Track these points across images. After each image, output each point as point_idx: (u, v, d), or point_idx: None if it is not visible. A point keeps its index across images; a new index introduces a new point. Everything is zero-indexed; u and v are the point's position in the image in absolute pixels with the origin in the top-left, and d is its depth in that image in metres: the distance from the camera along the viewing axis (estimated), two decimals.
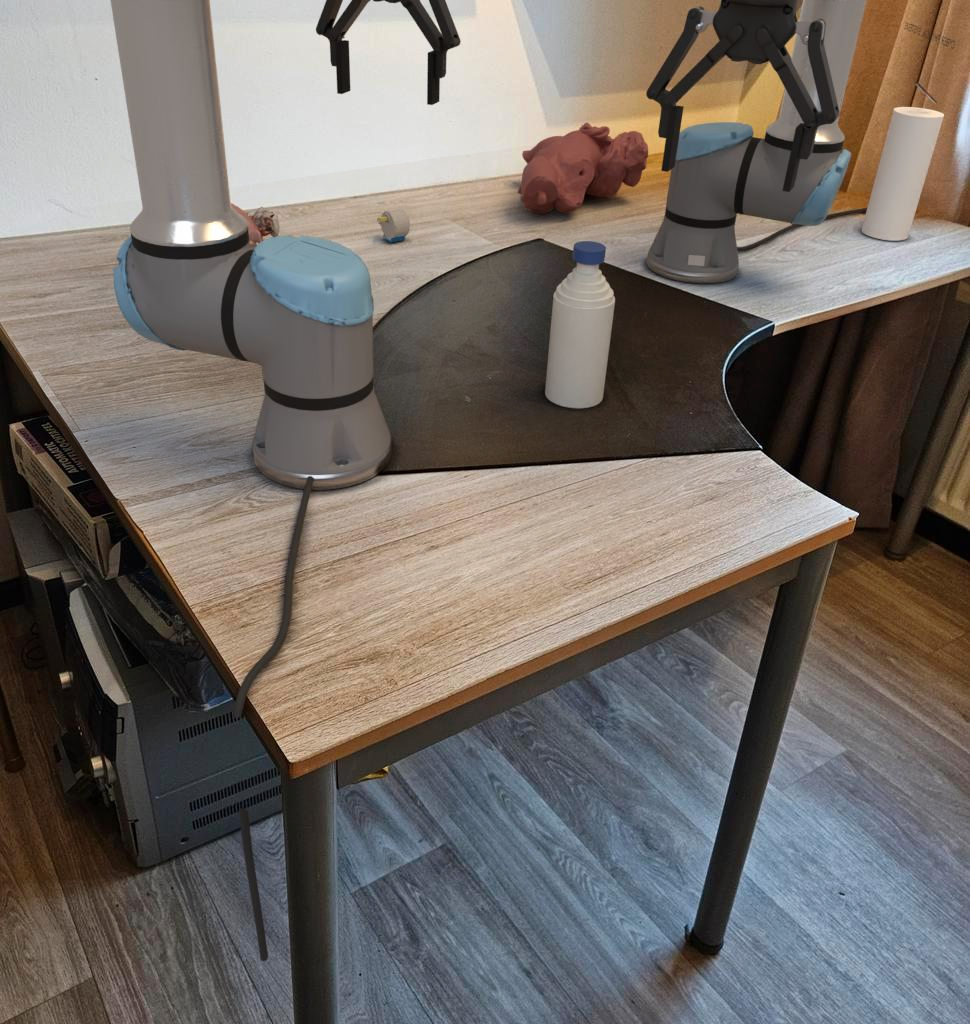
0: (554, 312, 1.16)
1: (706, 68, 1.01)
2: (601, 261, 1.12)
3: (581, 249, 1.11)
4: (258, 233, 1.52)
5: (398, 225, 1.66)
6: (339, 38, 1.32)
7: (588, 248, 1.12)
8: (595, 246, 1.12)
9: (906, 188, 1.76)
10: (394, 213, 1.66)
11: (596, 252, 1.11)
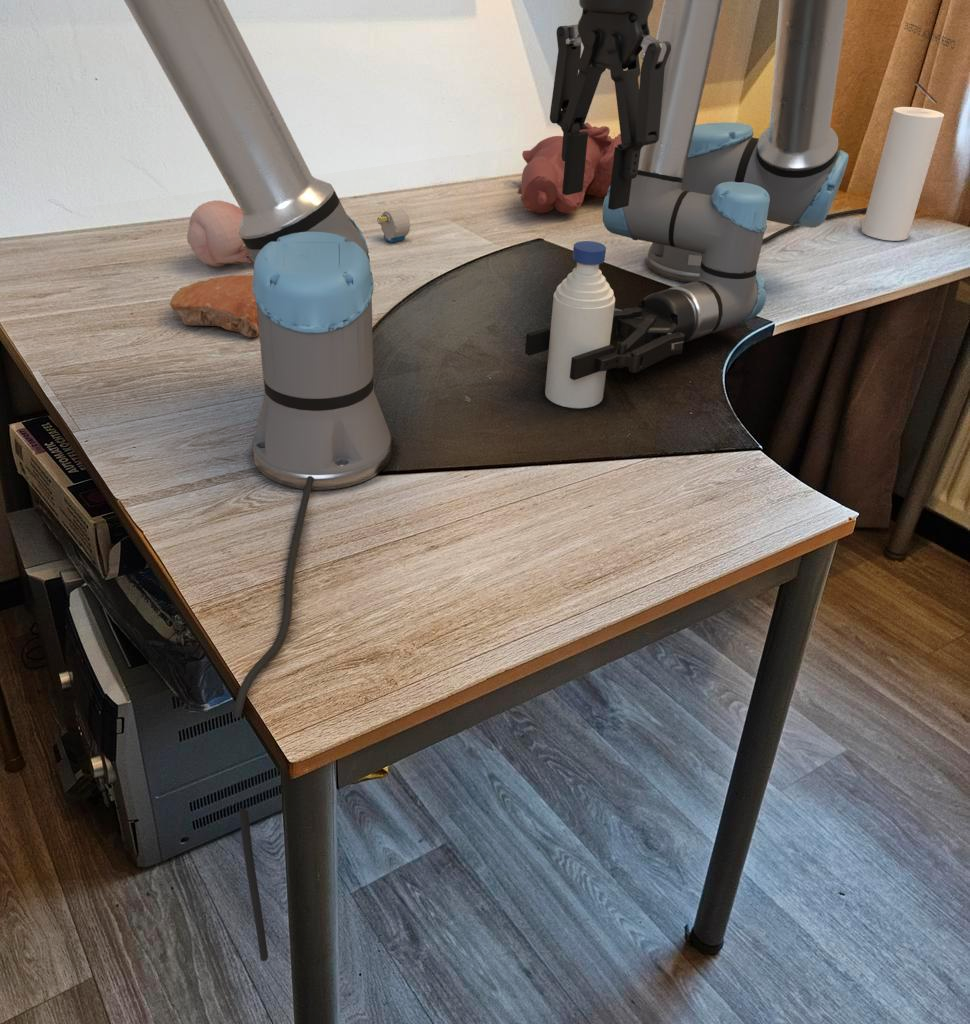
0: (554, 312, 1.16)
1: None
2: (601, 261, 1.12)
3: (581, 249, 1.11)
4: None
5: (398, 225, 1.66)
6: None
7: (588, 248, 1.12)
8: (595, 246, 1.12)
9: (906, 188, 1.76)
10: (394, 213, 1.66)
11: (596, 252, 1.11)
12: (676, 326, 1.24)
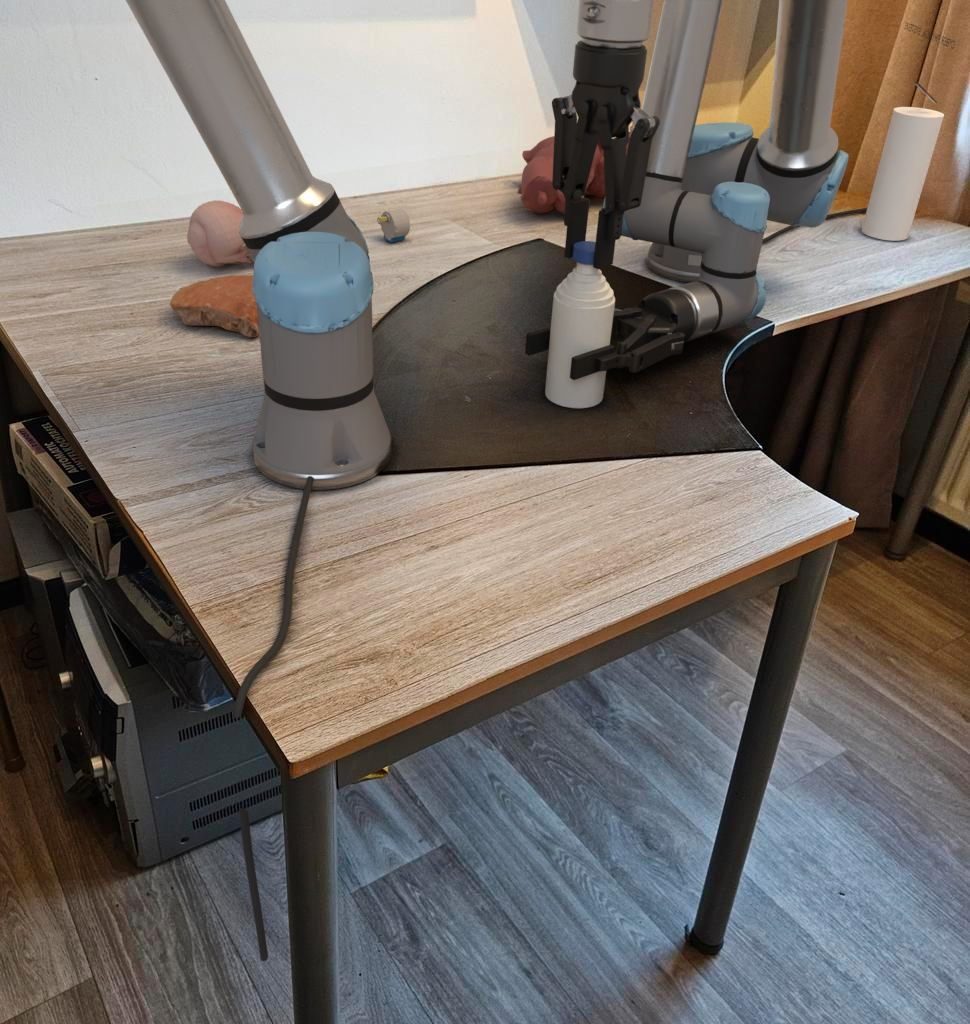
0: (554, 312, 1.16)
1: None
2: None
3: (581, 249, 1.11)
4: None
5: (398, 225, 1.66)
6: None
7: (588, 248, 1.12)
8: None
9: (906, 188, 1.76)
10: (394, 213, 1.66)
11: None
12: (676, 326, 1.24)
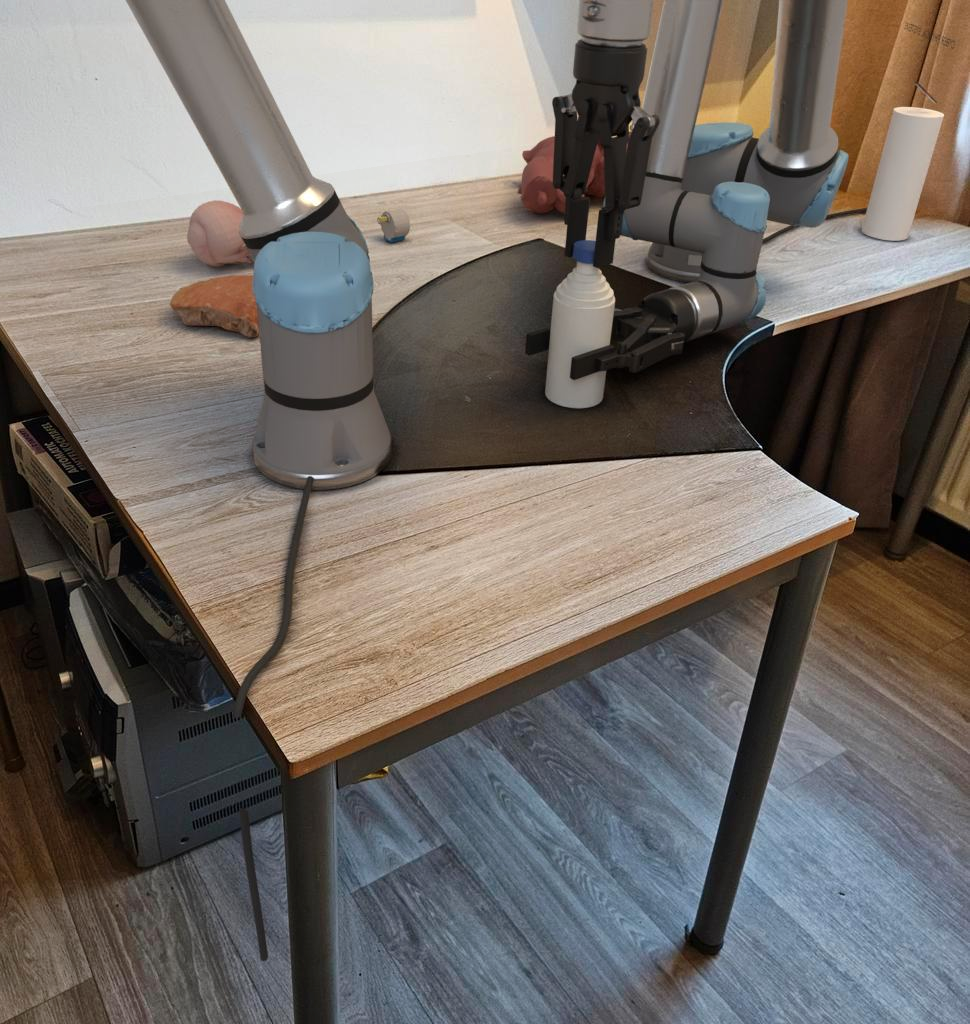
0: (554, 312, 1.16)
1: None
2: None
3: None
4: None
5: (398, 225, 1.66)
6: None
7: None
8: (588, 243, 1.13)
9: (906, 188, 1.76)
10: (394, 213, 1.66)
11: None
12: (676, 326, 1.24)
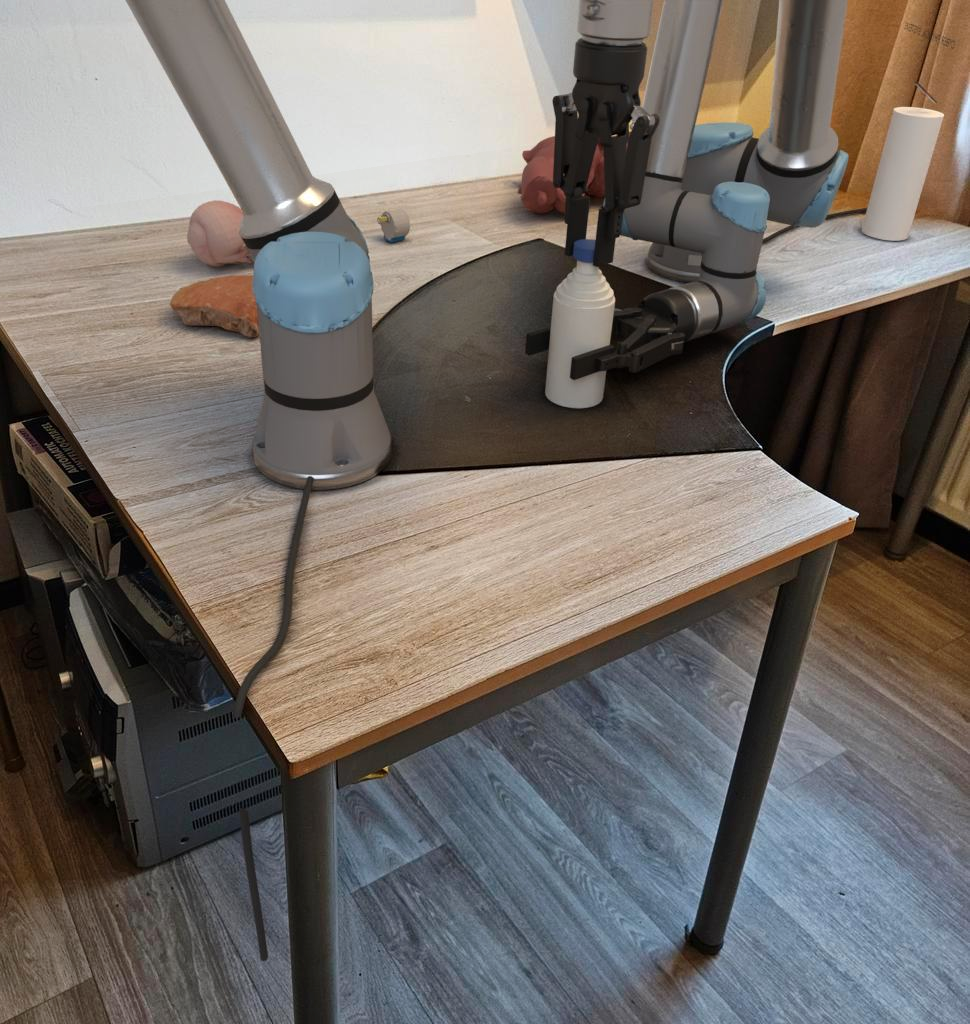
0: (554, 312, 1.16)
1: None
2: None
3: None
4: None
5: (398, 225, 1.66)
6: None
7: (589, 242, 1.13)
8: (584, 244, 1.12)
9: (906, 188, 1.76)
10: (394, 213, 1.66)
11: (580, 240, 1.13)
12: (676, 326, 1.24)
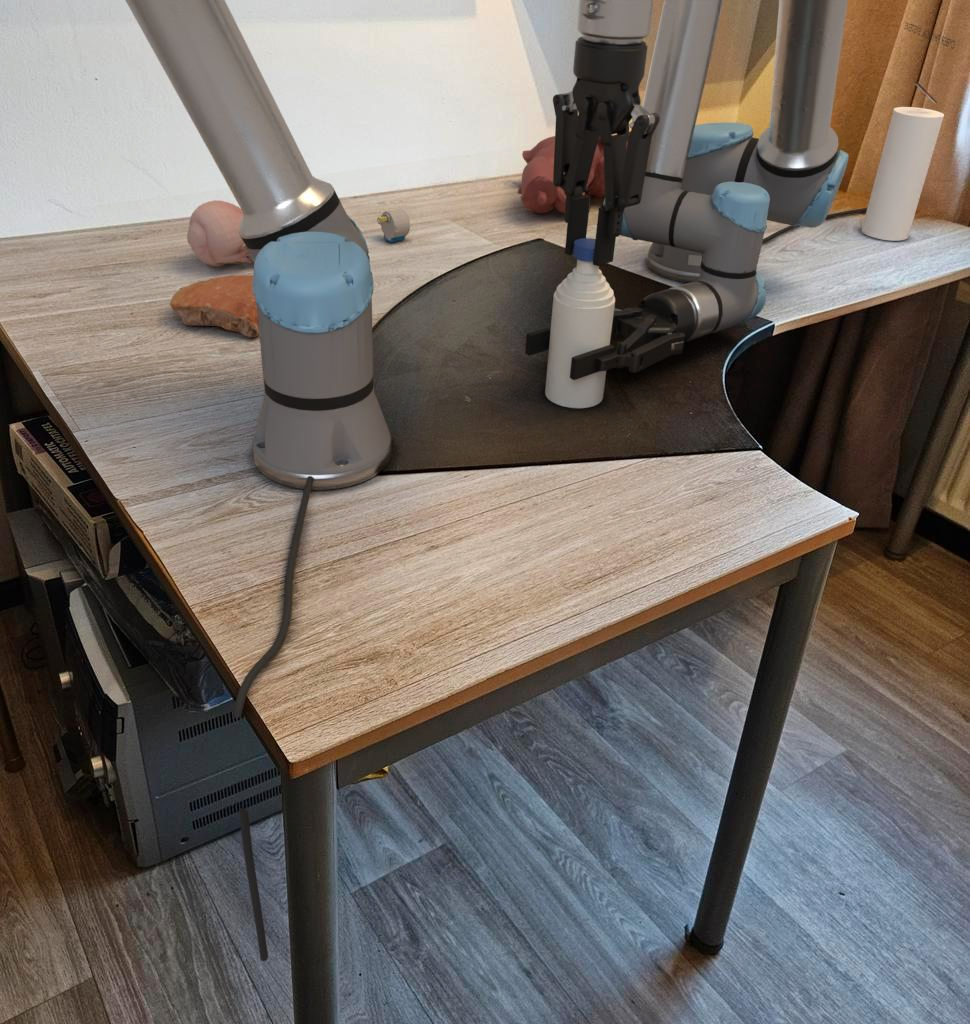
0: (554, 312, 1.16)
1: None
2: (584, 259, 1.11)
3: (577, 241, 1.12)
4: None
5: (398, 225, 1.66)
6: None
7: (583, 243, 1.12)
8: (593, 245, 1.12)
9: (906, 188, 1.76)
10: (394, 213, 1.66)
11: (578, 246, 1.11)
12: (676, 326, 1.24)
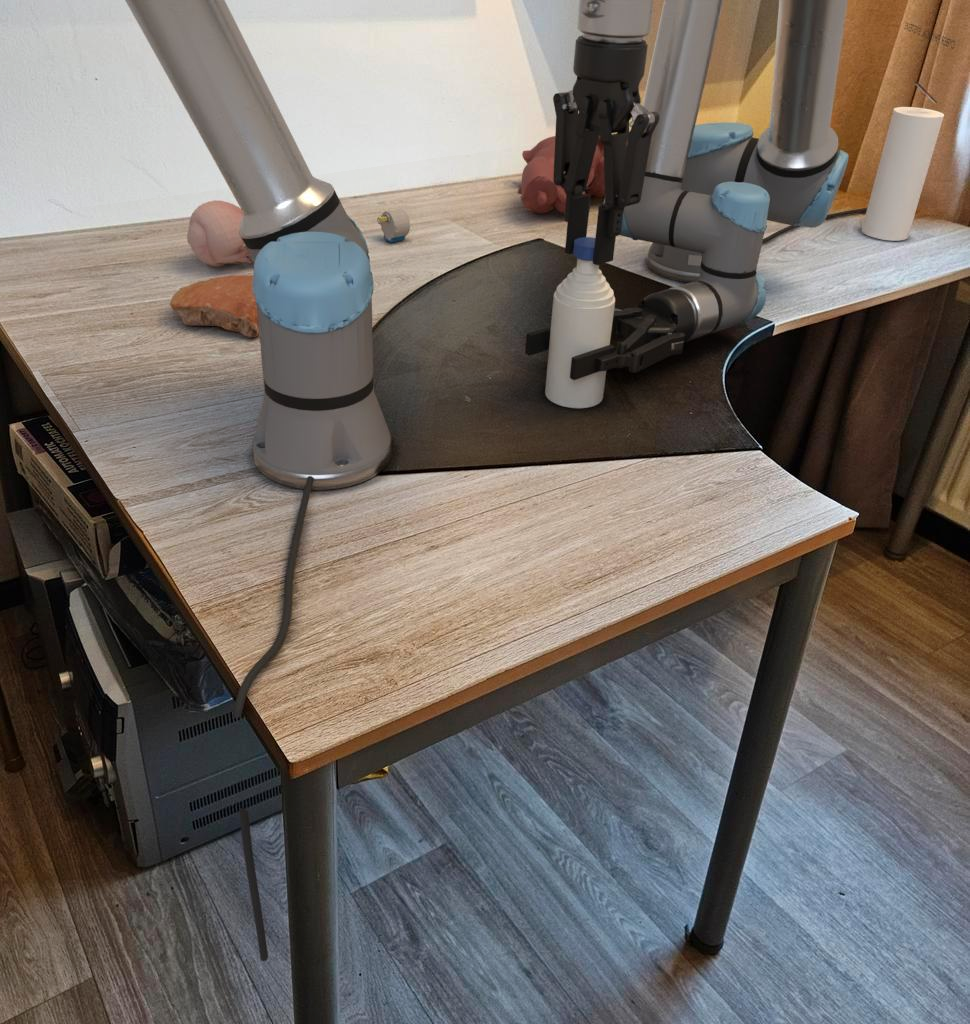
0: (554, 312, 1.16)
1: None
2: None
3: (587, 246, 1.11)
4: None
5: (398, 225, 1.66)
6: None
7: (592, 244, 1.11)
8: (594, 241, 1.12)
9: (906, 188, 1.76)
10: (394, 213, 1.66)
11: None
12: (676, 326, 1.24)
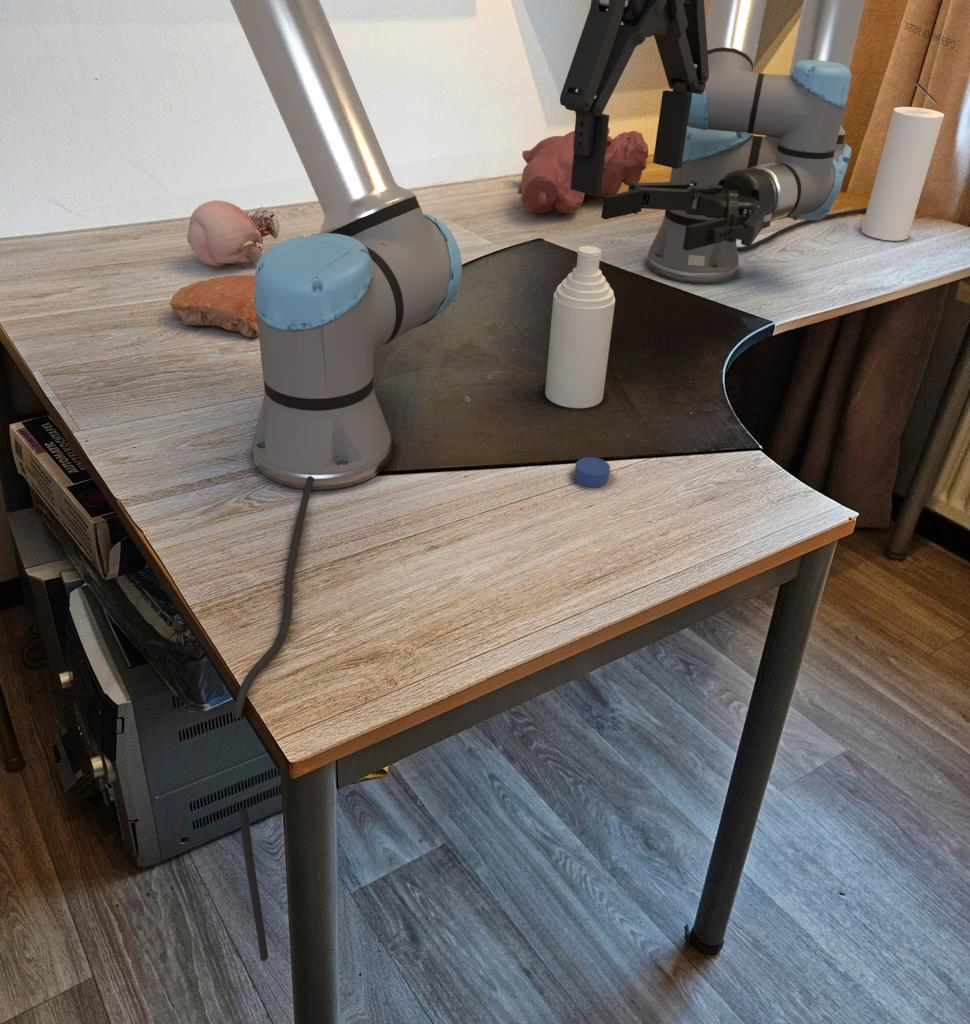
0: (554, 312, 1.16)
1: None
2: None
3: (607, 467, 1.05)
4: (258, 233, 1.52)
5: None
6: (679, 88, 0.89)
7: (599, 465, 1.06)
8: (588, 463, 1.06)
9: (906, 188, 1.76)
10: None
11: (601, 459, 1.07)
12: (757, 202, 1.23)
